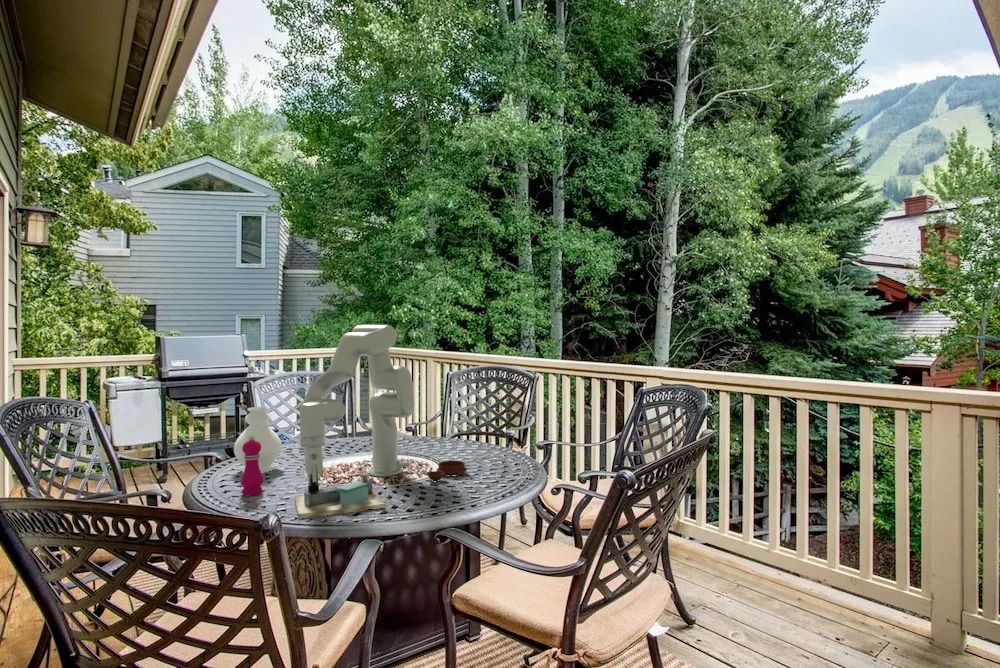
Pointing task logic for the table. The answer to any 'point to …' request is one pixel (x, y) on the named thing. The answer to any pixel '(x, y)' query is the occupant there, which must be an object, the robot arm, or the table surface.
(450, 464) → the pottery
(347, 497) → the block
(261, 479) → the pepper mill
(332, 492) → the link
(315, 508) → the base board
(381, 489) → the table surface
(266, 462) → the decorative vase
